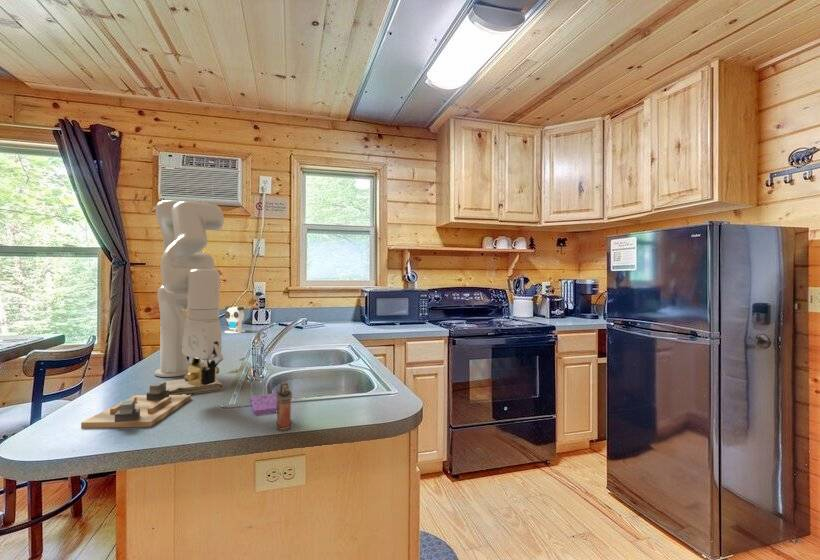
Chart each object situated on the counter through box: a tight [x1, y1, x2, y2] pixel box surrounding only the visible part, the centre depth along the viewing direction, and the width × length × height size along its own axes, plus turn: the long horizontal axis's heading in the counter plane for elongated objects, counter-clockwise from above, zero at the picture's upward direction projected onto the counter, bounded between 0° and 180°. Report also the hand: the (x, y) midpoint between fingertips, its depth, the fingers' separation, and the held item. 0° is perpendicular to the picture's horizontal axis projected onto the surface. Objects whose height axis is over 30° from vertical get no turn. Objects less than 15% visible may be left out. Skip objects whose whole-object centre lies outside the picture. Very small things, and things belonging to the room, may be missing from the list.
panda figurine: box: [224, 305, 246, 334], centre depth 234 cm, size 12×11×15 cm
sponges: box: [250, 392, 277, 415], centre depth 106 cm, size 7×13×2 cm, turn 26°
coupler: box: [183, 361, 220, 387], centre depth 107 cm, size 9×4×5 cm, turn 155°
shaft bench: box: [80, 381, 192, 429], centre depth 100 cm, size 20×15×5 cm
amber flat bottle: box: [275, 381, 293, 433], centre depth 93 cm, size 8×3×10 cm, turn 21°
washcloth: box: [162, 377, 224, 395], centre depth 120 cm, size 12×18×3 cm, turn 126°
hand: (202, 381), depth 107 cm, fingers closed on coupler, 4 cm apart
